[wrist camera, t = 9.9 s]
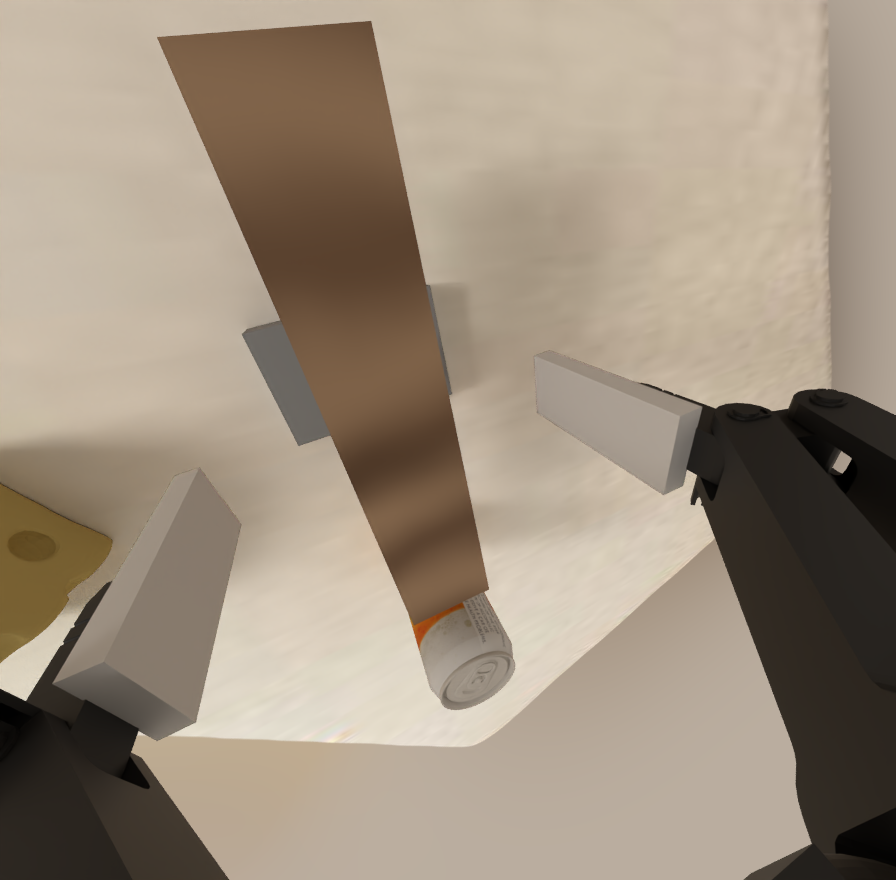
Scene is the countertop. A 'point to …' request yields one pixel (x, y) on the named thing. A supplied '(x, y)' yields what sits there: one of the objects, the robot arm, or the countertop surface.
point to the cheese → (39, 566)
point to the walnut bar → (343, 276)
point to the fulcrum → (298, 378)
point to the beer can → (465, 653)
